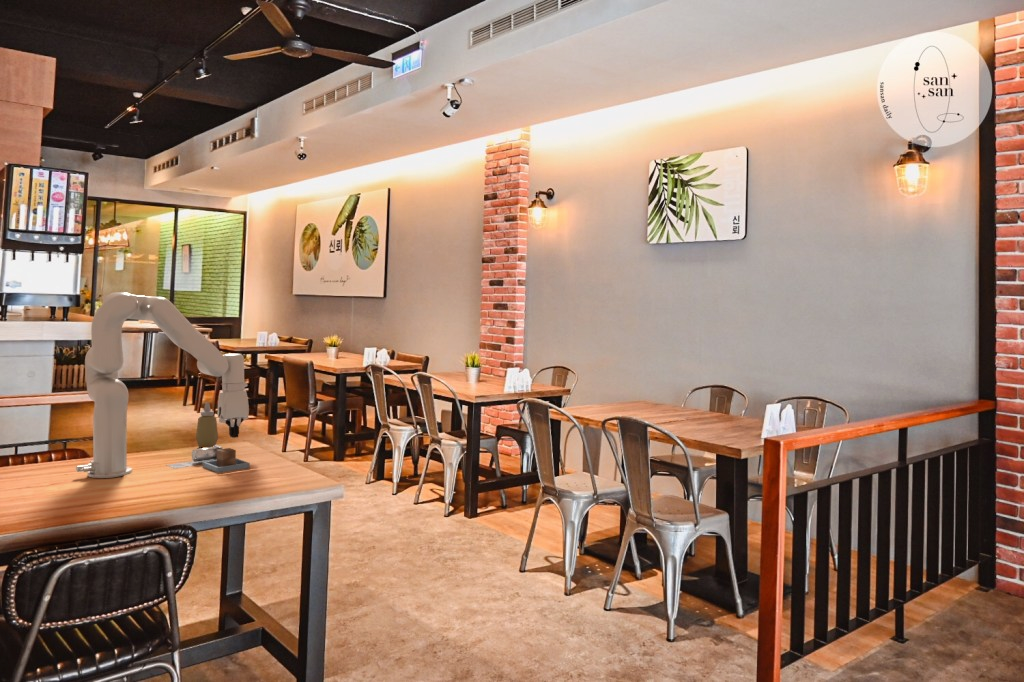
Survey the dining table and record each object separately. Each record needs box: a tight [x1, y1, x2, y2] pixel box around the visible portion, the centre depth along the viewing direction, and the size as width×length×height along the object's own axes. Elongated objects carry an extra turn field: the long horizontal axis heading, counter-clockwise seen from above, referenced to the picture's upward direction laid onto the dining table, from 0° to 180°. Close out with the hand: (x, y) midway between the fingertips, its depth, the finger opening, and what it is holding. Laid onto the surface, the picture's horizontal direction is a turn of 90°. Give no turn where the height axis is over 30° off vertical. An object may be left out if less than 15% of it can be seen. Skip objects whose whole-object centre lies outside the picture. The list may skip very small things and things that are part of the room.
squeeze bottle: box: [195, 401, 219, 448], centre depth 273 cm, size 8×8×18 cm
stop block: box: [217, 447, 237, 467], centre depth 239 cm, size 4×4×6 cm
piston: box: [191, 444, 223, 462], centre depth 247 cm, size 9×5×5 cm, turn 138°
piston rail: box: [166, 459, 217, 470], centre depth 245 cm, size 18×7×1 cm, turn 138°
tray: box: [202, 457, 251, 475], centre depth 239 cm, size 11×11×2 cm
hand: (234, 436), depth 254 cm, fingers closed
